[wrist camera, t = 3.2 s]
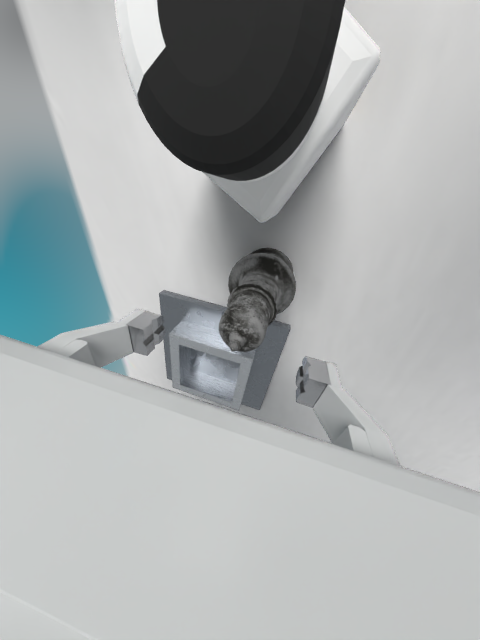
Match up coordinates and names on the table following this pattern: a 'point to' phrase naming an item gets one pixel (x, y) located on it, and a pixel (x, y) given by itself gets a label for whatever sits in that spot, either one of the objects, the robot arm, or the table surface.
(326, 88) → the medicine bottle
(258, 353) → the plate
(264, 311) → the chess piece
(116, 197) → the table surface
